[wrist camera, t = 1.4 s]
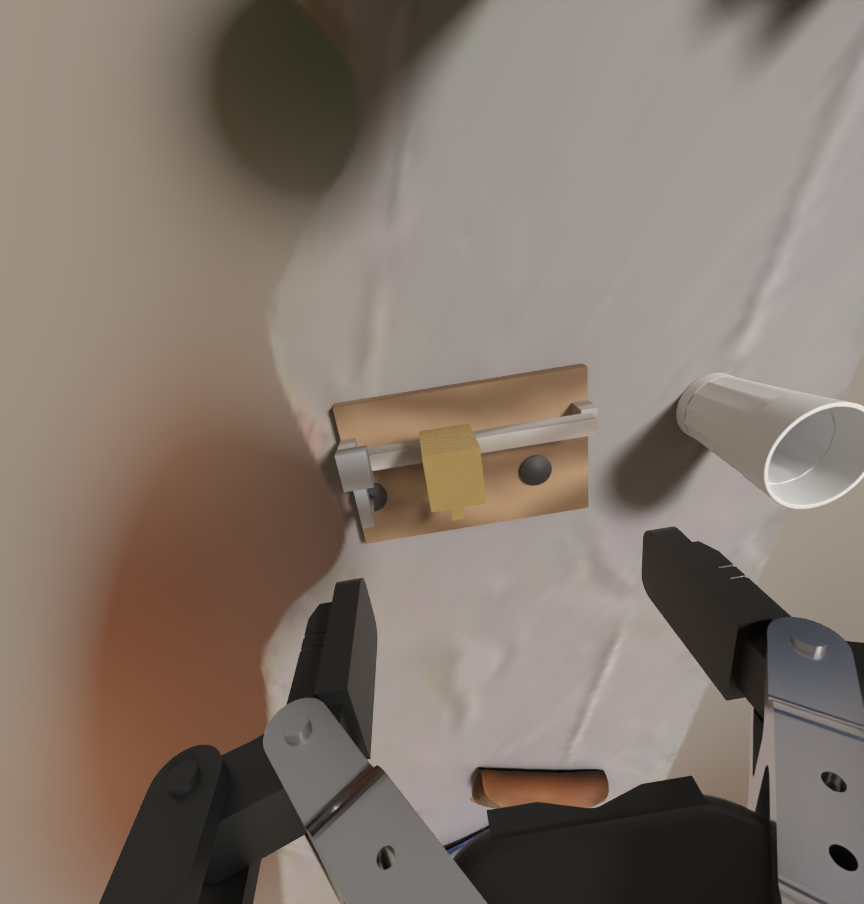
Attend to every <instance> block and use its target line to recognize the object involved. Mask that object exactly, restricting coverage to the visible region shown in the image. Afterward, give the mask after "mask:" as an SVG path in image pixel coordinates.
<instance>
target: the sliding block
mask: <svg viewBox="0 0 864 904" xmlns="http://www.w3.org/2000/svg"><path fill="white" fill-rule="evenodd" d="M419 436H420V445H421V454H422V461H423V467H424V472H425V478H426V484H427V490H428V496H429V502H430V507H431V512H437V511H443V510H449V509H450V511H451V517H452V521H455V520H461V519H464V513H463V507H468V506H474V505H480V504H486V495H485V486H484V477H483V468H482V459H481V451H480V446H479V444H478V441H477V439H476V437H475V435H474V432H473V430H472V428H471V425H470V423H467V424H461V425H455V426H449V427H443V428H436V429H430V430H424V431H419Z"/></svg>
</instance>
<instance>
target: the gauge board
mask: <svg viewBox="0 0 864 904" xmlns="http://www.w3.org/2000/svg"><path fill="white" fill-rule="evenodd" d="M333 412H334V416H335V420H336V424H337V428H338V432H339V436H340V443H339V446H338V449H337V450H336V453H335V460H336V464H337V468H338V471H339V475H340V479H341V483H342V487H343V491H344V492H349V491H353V493H354V497H355V502H356V505H357V509H358V513H359V517H360V521H361V525H362V529H363V533H364V537H365V541H366V543H372V542H378V541H384V540H391V539H397V538H403V537H409V536H415V535H421V534H427V533H434V532H440V531H446V530H452V529H458V528H464V527H470V526H477V525H483V524H489V523H495V522H501V521H507V520H513V519H520V518H526V517H532V516H538V515H544V514H550V513H556V512H563V511H569V510H575V509H581V508H587V507H588V436H591V435H597V430H598V407H596V406H595V405H594V404H592V403H591V402H590V401H588V388H587V366H585V365H584V364H577V365H570V366H564V367H558V368H552V369H546V370H540V371H533V372H527V373H521V374H515V375H509V376H502V377H496V378H490V379H484V380H478V381H472V382H465V383H459V384H453V385H447V386H441V387H434V388H428V389H422V390H416V391H410V392H403V393H397V394H391V395H385V396H379V397H373V398H366V399H360V400H354V401H348V402H342V403H335V404H334V406H333ZM467 423H470V425H471V428H472V430H473V432H474V435H475V437H476V439H477V441H478V444H479V446H480V451H481V459H482V468H483V477H484V486H485V495H486V504H480V505H474V506H468V507H463V513H464V519H461V520H455V521H452V517H451V511H450V509H449V510H443V511H437V512H431V507H430V502H429V496H428V490H427V484H426V478H425V472H424V467H423V461H422V454H421V445H420V436H419V431H424V430H430V429H436V428H443V427H449V426H455V425H461V424H467Z"/></svg>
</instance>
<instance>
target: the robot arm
mask: <svg viewBox="0 0 864 904" xmlns="http://www.w3.org/2000/svg"><path fill="white" fill-rule="evenodd" d="M642 581H643V585H644V588H645V591H646V593H647V595H648V596H649V598H650V599H651V601H652V602H653V603H654V605H655V606H656V607H657V609H658V610H659V611H660V613H661V614H662V615H663V617H664V618H665V619H666V621H667V622H668V623H669V625H670V626H671V627H672V629H673V630H674V631H675V633H676V634H677V635H678V637H679V638H680V639H681V641H682V642H683V643H684V645H685V646H686V647H687V649H688V650H689V651H690V653H691V654H692V655H693V657H694V658H695V659H696V661H697V662H698V663H699V665H700V666H701V667H702V669H703V670H704V671H705V673H706V674H707V675H708V677H709V678H710V679H711V681H712V682H713V683H714V685H715V686H716V687H717V689H718V690H719V691H720V692H721V694H722V695H723V697H724V698H725V699H726V700H732V699H738V698H744V697H746V699H747V700H748V701H749V702H750V703H751V705H752V711H751V726H750V728H751V729H750V777H749V797H748V806H747V808H745V807H743V806H741V805H739V804H736V803H734V802H731V801H728V800H725V799H722V798H718V797H713V796H710V795H703V794H702V793H701V791H700V789H699V787H698V785H697V784H696V782H695V780H694V778H693V777H692V776H687V777H681V778H675V779H669V780H663V781H657V782H651V783H646V784H641V785H639V786H637V787H635V788H633V789H632V790H630V791H628V792H626V793H624V794H622V795H620V796H618V797H617V798H615V799H613V800H611V801H609V802H607V803H605V804H604V805H602V806H600V807H597V808H583V807H575V806H567V805H559V804H551V803H543V802H533V803H527V804H521V805H515V806H509V807H503V808H498V809H492V810H487V815H488V821H489V829H487V830H485V831H483V832H481V833H480V834H478V835H477V836H475V837H474V838H473V839H471V840H470V841H469V842H468V843H467V844H465V845H464V846H463V847H462V848H461V849H460V850H459V851H458V853H457V854H456V855H455V856H454V858H453V859H452V857H451V856H450V855H449V853H448V852H447V851H446V850H445V848H444V847H443V846H442V844H441V843H440V842H439V841H438V839H437V838H436V837H435V835H434V834H433V833H432V832H431V830H430V829H429V828H428V826H427V825H426V824H425V822H424V821H423V820H422V819H421V817H420V816H419V815H418V813H417V812H416V811H415V810H414V808H413V807H412V806H411V804H410V803H409V802H408V801H407V799H406V798H405V797H404V795H403V794H402V793H401V792H400V790H399V789H398V788H397V786H396V785H395V784H394V783H393V781H392V780H391V779H390V777H389V776H388V775H387V774H386V773H385V771H384V770H383V769H382V768H381V767H379V766H375V767H373V766H372V765H371V764H370V763H369V762H368V760H367V759H370V754H371V737H372V721H373V704H374V688H375V671H376V654H377V628H376V622H375V617H374V613H373V610H372V606H371V602H370V598H369V595H368V591H367V587H366V584H365V581H364V579H363V578H359V579H353V580H347V581H341V582H337V583H336V585H335V590H334V595H333V600H332V602H329V603H323V604H319V606H318V607H317V608H316V610H315V611H314V612H313V614H312V615H311V617H310V618H309V620H308V624H307V628H306V632H305V638H304V639H303V643H302V647H301V652H300V655H299V659H298V663H297V666H296V670H295V674H294V678H293V682H292V686H291V690H290V694H289V698H288V701H287V704H286V706H284V707H283V708H282V709H281V710H279V711H278V712H277V713H276V714H275V715H274V717H273V718H272V719H271V720H270V722H269V724H268V725H267V728H266V730H265V733H264V734H263V735H261V736H260V737H258V738H256V739H255V740H253V741H251V742H249V743H247V744H245V745H242V746H240V747H238V748H236V749H234V750H232V751H230V752H228V753H226V754H224V755H220V753H219V751H218V750H217V749H216V748H215V747H213V746H210V745H198V746H194V747H191V748H189V749H186V750H184V751H183V752H181V753H179V754H178V755H176V756H175V757H174V758H172V759H171V760H170V761H169V762H168V763H167V764H166V765H165V766H164V767H163V768H162V769H161V770H160V771H159V772H158V774H157V775H156V776H155V778H154V779H153V781H152V783H151V785H150V787H149V789H148V791H147V793H146V796H145V798H144V800H143V803H142V805H141V807H140V810H139V812H138V814H137V817H136V819H135V821H134V824H133V826H132V828H131V831H130V833H129V835H128V838H127V840H126V842H125V845H124V847H123V849H122V852H121V854H120V856H119V859H118V861H117V863H116V866H115V868H114V870H113V873H112V875H111V877H110V880H109V882H108V884H107V887H106V889H105V891H104V894H103V896H102V898H101V901H100V903H99V904H253V900H254V895H255V889H256V884H257V879H258V874H259V868H260V863H261V859H262V858H264V857H266V856H267V855H269V854H271V853H273V852H274V851H276V850H278V849H280V848H282V847H283V846H285V845H287V844H289V843H290V842H292V841H294V840H296V839H298V838H299V837H301V836H303V835H305V837H306V839H307V841H308V843H309V845H310V847H311V849H312V851H313V853H314V855H315V856H316V858H317V860H318V862H319V864H320V866H321V868H322V870H323V872H324V874H325V876H326V878H327V879H328V881H329V883H330V885H331V887H332V889H333V891H334V893H335V895H336V897H337V899H338V900H339V902H340V904H864V643H859V642H849V641H845V640H844V639H843V638H842V637H841V636H840V635H839V634H837V633H836V632H834V631H833V630H831V629H830V628H828V627H826V626H824V625H822V624H819V623H817V622H814V621H811V620H807V619H803V618H796V617H791V616H790V615H789V614H788V613H787V612H786V611H784V610H783V609H782V608H781V607H780V606H779V605H778V604H776V603H775V602H774V601H773V600H772V599H771V598H770V597H769V596H768V595H767V594H766V593H764V592H763V591H762V590H761V589H760V588H759V587H758V586H757V585H756V584H754V583H753V582H752V581H751V580H750V579H749V578H746V577H745V575H744V574H743V573H742V572H741V571H740V570H739V569H738V568H737V567H734V566H733V564H732V563H731V562H730V561H729V560H728V559H727V558H725V557H724V556H723V555H722V554H721V553H720V552H719V551H717V550H715V549H713V548H711V547H709V546H707V545H705V544H703V543H701V542H699V541H697V542H691V541H690V540H689V539H688V538H687V537H686V536H685V535H684V534H683V533H682V532H681V531H680V530H679V529H677V528H676V527H667V528H661V529H655V530H649V531H646V532H645V533H644V536H643V556H642Z"/></svg>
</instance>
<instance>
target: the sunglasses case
mask: <svg viewBox="0 0 864 904" xmlns="http://www.w3.org/2000/svg"><path fill="white" fill-rule="evenodd" d="M608 790H609V787H608V780H607V777H606V774H605V772H604V771H603V770H602V771H601V770H594V771H577V772H564V773H557V772H525V771H499V770H486V769H485V770H481V769H480V768H478V772H477V776H476V780H475V784H474V789H473V794H472V797H471V799H470V800H471V801H473V802H475V803H477V804H479V805H482V806H486V807H491V808H496V809H498V808H503V807H509V806H515V805H521V804H527V803H533V802H543V803H551V804H559V805H567V806H575V807H583V808H590V807H593V806H595V805H597V804H599V803H601V802H603V801H604V800H605V799H606V798H607V796H608V792H609V791H608Z"/></svg>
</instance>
